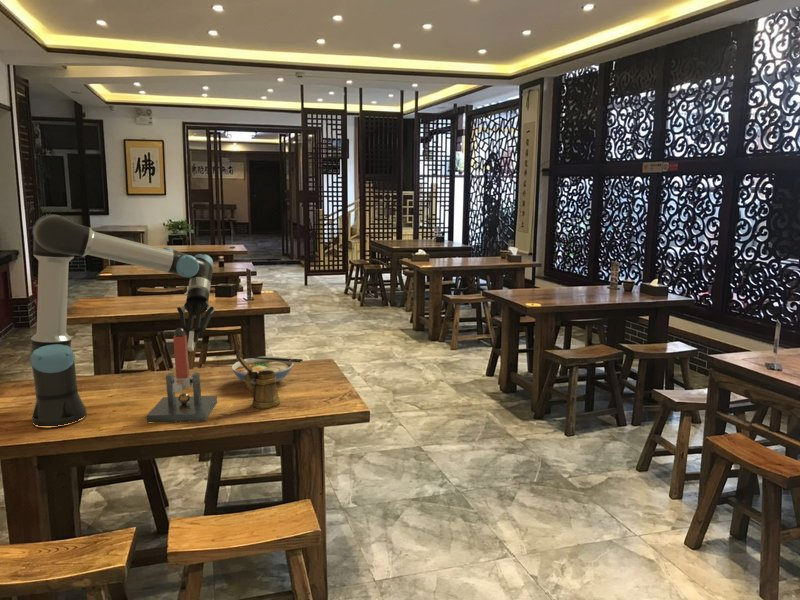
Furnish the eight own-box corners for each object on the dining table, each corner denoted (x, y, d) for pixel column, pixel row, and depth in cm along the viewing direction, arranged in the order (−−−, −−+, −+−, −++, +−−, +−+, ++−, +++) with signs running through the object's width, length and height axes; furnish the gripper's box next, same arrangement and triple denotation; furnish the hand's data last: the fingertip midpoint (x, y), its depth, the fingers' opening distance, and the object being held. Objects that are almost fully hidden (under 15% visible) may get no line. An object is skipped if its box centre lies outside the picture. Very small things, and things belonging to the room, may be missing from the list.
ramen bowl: (217, 390, 224) (216, 368, 223) (250, 371, 246) (249, 352, 244) (279, 396, 217) (278, 374, 215) (307, 377, 238) (306, 356, 237)
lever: (168, 392, 196) (163, 333, 192) (175, 384, 204) (171, 327, 200) (187, 392, 196) (182, 332, 193) (194, 383, 204) (189, 326, 201)
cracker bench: (147, 423, 193) (143, 385, 191) (163, 404, 210) (160, 369, 208) (205, 421, 195) (202, 383, 192) (217, 402, 211) (215, 367, 209)
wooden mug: (239, 402, 211) (236, 351, 208) (279, 398, 215) (276, 348, 211) (239, 411, 203) (236, 359, 200) (281, 407, 206) (278, 355, 203)
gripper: (218, 298, 226) (212, 354, 213) (182, 298, 225) (173, 355, 212) (214, 286, 220) (207, 343, 206) (177, 287, 219) (167, 344, 205)
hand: (190, 349), depth 209 cm, fingers closed
